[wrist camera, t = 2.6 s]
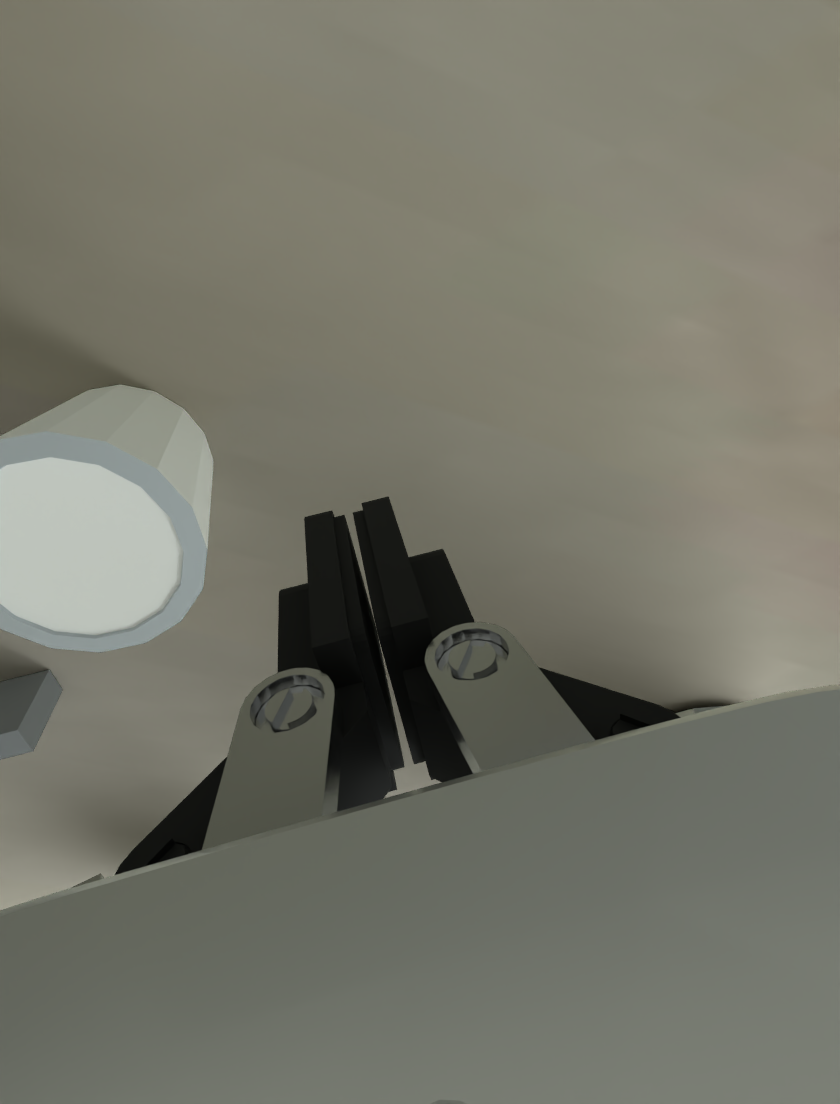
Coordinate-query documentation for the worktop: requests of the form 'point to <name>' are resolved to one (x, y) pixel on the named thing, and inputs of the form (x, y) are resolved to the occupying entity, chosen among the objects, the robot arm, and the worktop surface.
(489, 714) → the robot arm
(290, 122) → the worktop surface
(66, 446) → the shot glass
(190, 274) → the worktop surface
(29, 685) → the box
